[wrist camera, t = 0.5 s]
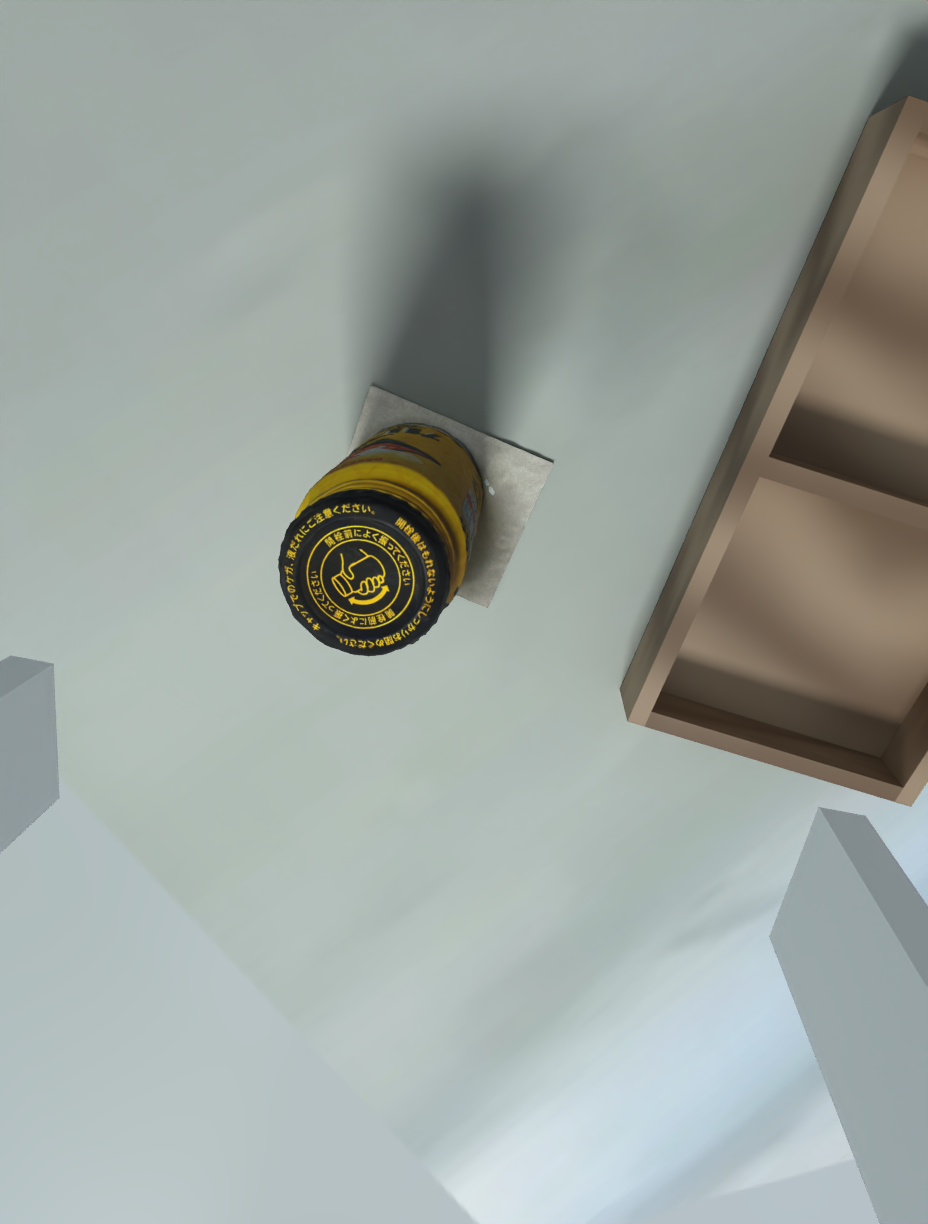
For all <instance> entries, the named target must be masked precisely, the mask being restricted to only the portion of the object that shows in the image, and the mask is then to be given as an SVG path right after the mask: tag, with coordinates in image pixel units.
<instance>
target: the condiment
mask: <svg viewBox="0 0 928 1224" xmlns="http://www.w3.org/2000/svg"><path fill="white" fill-rule="evenodd" d="M552 466H553V463H551V462H549V461H546V460H544V459H542V458H539V457H537V456H534V455H532V454H530V453H528V452H526V451H523V450H521V449H519V448H516V447H513V446H511V445H509V444H507V443H504V442H502V441H499V440H497V439H495V438H493V437H490V436H488V435H486V434H484V433H481V432H479V431H477V430H474V429H472V428H470V427H468V426H465V425H463V424H461V423H459V422H456V421H454V420H452V419H450V418H447V417H445V416H442V415H440V414H438V413H435V412H433V411H431V410H429V409H426V408H424V407H421V406H419V405H417V404H415V403H412V402H410V401H408V400H405V399H403V398H400V397H398V396H396V395H394V394H391V393H389V392H387V391H384V390H382V389H379V388H377V387H374V386H370V389H369V392H368V395H367V397H366V401H365V403H364V406H363V409H362V412H361V416H360V418H359V421H358V424H357V428H356V430H355V433H354V436H353V439H352V442H351V445H350V448H349V451H348V454H347V457H346V459H344V460H343V461H342V462H341V463H340V464H339V465H337V466H336V467H335V468H334V469H332V470H330V471H329V472H328V473H327V474H326V475H325V476H323V477H322V478H321V479H320V480H319V481H318V482H317V483H316V484H315V485H314V486H313V487H312V488H311V489H310V490H309V492H308V493H307V495H306V496H305V498H304V500H303V502H302V503H301V505H300V507H299V509H298V511H297V513H296V516H295V520H293V521H292V522H291V523H290V525H289V527H288V529H287V530H286V534H285V537H284V540H283V542H282V544H281V550H280V556H279V559H278V561H279V566H278V568H279V572H280V584H281V588H282V591H283V594H284V596H285V598H286V601H287V603H288V605H289V607H290V609H291V612H292V615H293V616H294V618H295V619H296V620H297V621H298V622H299V623H300V624H301V625H302V626H303V627H305V628H306V629H307V630H308V631H309V632H310V633H311V634H312V635H313V636H314V637H315V638H316V639H317V640H319V641H320V642H322V643H323V644H325V645H327V646H329V647H332V648H335V649H339V650H341V651H344V652H347V653H350V654H354V655H363V656H376V655H384V654H387V653H390V652H393V651H395V650H398V649H402V648H404V647H405V646H407V645H408V644H414V643H415V642H416V641H418V640H419V638H420V637H421V636H423V635H426V633H427V632H428V631H429V630H430V628H431V627H432V626H433V625H434V624H435V623H436V622H437V620H438V617H439V615H440V614H441V612H442V611H443V609H444V608H446V607H447V606H448V605H449V603H450V602H451V601H452V600H453V598H454V596H455V595H456V594H457V595H459V596H461V597H463V598H465V599H467V600H469V601H472V602H475V603H477V604H480V605H482V606H484V607H487V608H488V607H489V604H490V602H491V600H492V598H493V596H494V593H495V591H496V588H497V586H498V584H499V582H500V580H501V577H502V575H503V573H504V571H505V569H506V566H507V564H508V562H509V560H510V558H511V555H512V553H513V551H514V549H515V547H516V544H517V542H518V540H519V538H520V536H521V534H522V531H523V529H524V525H525V524H526V523H527V520H528V518H529V516H530V514H531V512H532V510H533V508H534V506H535V503H536V501H537V499H538V497H539V494H540V492H541V490H542V488H543V486H544V484H545V482H546V479H547V477H548V475H549V473H550V471H551V469H552ZM485 478H487V479H488V481H489V484H490V485H489V486H491V487H492V488H493V490H494V491H495V494H494V495H491V493H490V492H489V489H488V487H489V486H486V485H485V483H484V480H485Z"/></svg>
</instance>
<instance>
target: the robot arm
mask: <svg viewBox="0 0 928 1224" xmlns="http://www.w3.org/2000/svg"><path fill="white" fill-rule="evenodd" d="M58 799H59V778H58V756H57V733H56V710H55V688H54V665H53V663H47V662H42V661H37V660H31V659H26V658H21V657H15V656H9V657H8V658H6V659H4V660H2V661H1V662H0V853H1V852H2V851H3V850H4V849H5V848H6V847H7V846H9V845H10V844H11V843H12V842H13V841H14V840H15V839H16V838H17V837H18V836H19V835H20V834H21V833H22V832H23V831H25V830H26V829H27V828H28V827H29V826H30V825H31V824H32V823H33V822H34V821H35V820H36V819H37V818H39V817H40V816H41V815H42V814H43V813H44V812H45V811H46V810H47V809H48V808H49V807H50V806H51V805H52V804H54V803H55V802H56V801H57V800H58ZM769 937H770V940H771V942H772V945H773V947H774V950H775V953H776V955H777V958H778V960H779V963H780V966H781V968H782V971H783V973H784V976H785V979H786V981H787V984H788V986H789V989H790V992H791V994H792V997H793V999H794V1002H795V1005H796V1007H797V1010H798V1012H799V1015H800V1018H801V1020H802V1023H803V1025H804V1028H805V1031H806V1033H807V1036H808V1038H809V1041H810V1044H811V1046H812V1049H813V1051H814V1054H815V1057H816V1059H817V1062H818V1064H819V1067H820V1070H821V1072H822V1075H823V1077H824V1080H825V1083H826V1085H827V1088H828V1090H829V1093H830V1096H831V1098H832V1101H833V1103H834V1106H835V1109H836V1111H837V1114H838V1116H839V1119H840V1122H841V1124H842V1127H843V1129H844V1132H845V1135H846V1137H847V1140H848V1142H849V1145H850V1148H851V1150H852V1153H853V1155H854V1158H855V1160H856V1163H857V1166H858V1168H859V1171H860V1174H861V1176H862V1179H863V1181H864V1184H865V1187H866V1189H867V1192H868V1194H869V1197H870V1199H871V1202H872V1205H873V1207H874V1210H875V1213H876V1215H877V1218H878V1220H879V1223H880V1224H928V906H927V904H926V903H925V902H924V900H923V899H922V897H921V896H920V894H919V893H918V891H917V890H916V888H915V887H914V886H913V884H912V883H911V881H910V880H909V878H908V877H907V875H906V874H905V873H904V871H903V870H902V868H901V867H900V865H899V864H898V862H897V861H896V859H895V858H894V857H893V855H892V854H891V852H890V851H889V849H888V848H887V846H886V845H885V843H884V842H883V841H882V839H881V838H880V836H879V835H878V833H877V832H876V830H875V829H874V827H873V826H872V825H871V823H870V822H869V820H868V819H867V817H866V816H863V815H858V814H853V813H847V812H842V811H837V810H831V809H826V808H821V807H819V808H818V811H817V813H816V816H815V818H814V821H813V824H812V826H811V829H810V831H809V834H808V837H807V839H806V842H805V845H804V847H803V850H802V852H801V855H800V858H799V860H798V863H797V866H796V868H795V871H794V873H793V876H792V879H791V881H790V884H789V886H788V889H787V892H786V894H785V897H784V900H783V902H782V905H781V907H780V910H779V913H778V915H777V918H776V921H775V923H774V926H773V928H772V931H771V934H770V936H769Z"/></svg>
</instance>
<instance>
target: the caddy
mask: <svg viewBox="0 0 928 1224" xmlns="http://www.w3.org/2000/svg"><path fill="white" fill-rule="evenodd" d="M620 692H621V696H622V700H623V705H624V709H625V713H626V717H627V721H628V722H631V723H635V724H638V725H641V726H645V727H648V728H651V729H655V730H658V731H661V732H665V733H668V734H671V735H675V736H678V737H681V738H684V739H688V740H691V741H694V742H698V743H701V744H704V745H708V746H711V747H714V748H718V749H721V750H724V751H728V752H731V753H734V754H738V755H741V756H744V757H748V758H751V759H754V760H758V761H761V762H764V763H768V764H771V765H774V766H777V767H781V768H784V769H787V770H791V771H794V772H797V773H801V774H804V775H807V776H811V777H814V778H817V779H821V780H824V781H827V782H831V783H834V784H837V785H841V786H844V787H847V788H851V789H854V790H857V791H860V792H864V793H867V794H870V795H874V796H877V797H880V798H884V799H887V800H890V801H894V802H897V803H900V804H904V805H907V806H910V807H911V806H912V804H913V803H914V801H915V800H916V798H917V797H918V795H919V794H920V792H921V791H922V789H923V788H924V786H925V785H926V783H927V782H928V102H926V101H923V100H920V99H918V98H915V97H912V96H907V97H905V98H903V99H901V100H899V101H898V102H896V103H894V104H892V105H890V106H889V107H887V108H885V109H883V110H881V111H879V112H878V113H876V114H874V115H872V116H870V117H869V118H868V121H867V123H866V125H865V127H864V130H863V132H862V134H861V137H860V139H859V141H858V143H857V146H856V148H855V150H854V153H853V155H852V157H851V160H850V162H849V164H848V166H847V169H846V171H845V173H844V176H843V178H842V180H841V183H840V185H839V187H838V189H837V192H836V194H835V196H834V199H833V201H832V203H831V205H830V208H829V210H828V212H827V215H826V217H825V219H824V222H823V224H822V226H821V228H820V231H819V233H818V235H817V238H816V240H815V242H814V245H813V247H812V249H811V251H810V254H809V256H808V258H807V261H806V263H805V265H804V267H803V270H802V272H801V274H800V277H799V279H798V281H797V284H796V286H795V288H794V290H793V293H792V295H791V297H790V300H789V302H788V304H787V307H786V309H785V311H784V313H783V316H782V318H781V320H780V323H779V325H778V327H777V329H776V332H775V334H774V336H773V339H772V341H771V343H770V346H769V348H768V350H767V352H766V355H765V357H764V359H763V362H762V364H761V366H760V369H759V371H758V373H757V375H756V378H755V380H754V382H753V385H752V387H751V389H750V391H749V394H748V396H747V398H746V401H745V403H744V405H743V408H742V410H741V412H740V414H739V417H738V419H737V421H736V424H735V426H734V428H733V431H732V433H731V435H730V437H729V440H728V442H727V444H726V447H725V449H724V451H723V453H722V456H721V458H720V460H719V463H718V465H717V467H716V470H715V472H714V474H713V476H712V479H711V481H710V483H709V486H708V488H707V490H706V493H705V495H704V497H703V499H702V502H701V504H700V506H699V509H698V511H697V513H696V515H695V518H694V520H693V522H692V525H691V527H690V529H689V532H688V534H687V536H686V538H685V541H684V543H683V545H682V548H681V550H680V552H679V555H678V557H677V559H676V561H675V564H674V566H673V568H672V571H671V573H670V575H669V577H668V580H667V582H666V584H665V587H664V589H663V591H662V594H661V596H660V598H659V600H658V603H657V605H656V607H655V610H654V612H653V614H652V617H651V619H650V621H649V623H648V626H647V628H646V630H645V633H644V635H643V637H642V639H641V642H640V644H639V646H638V649H637V651H636V653H635V656H634V658H633V660H632V662H631V665H630V667H629V669H628V672H627V674H626V676H625V679H624V681H623V683H622V685H621V688H620Z"/></svg>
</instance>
